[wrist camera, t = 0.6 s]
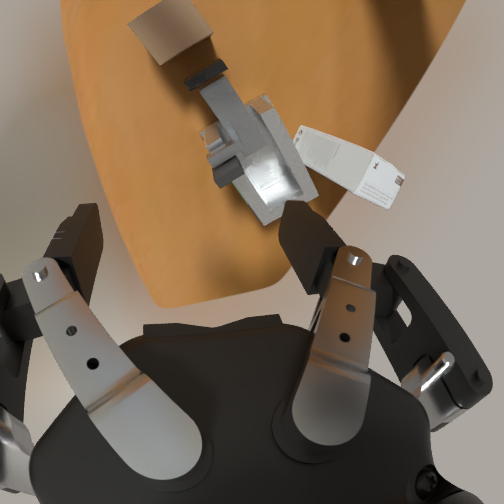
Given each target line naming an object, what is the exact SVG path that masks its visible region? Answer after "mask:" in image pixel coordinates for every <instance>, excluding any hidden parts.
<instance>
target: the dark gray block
mask: <svg viewBox="0 0 504 504" xmlns="http://www.w3.org/2000/svg"><path fill="white" fill-rule="evenodd" d="M212 171H213V177H214V181H215V183H216V184H217V185H218V187H219V188H222V187H224V186H225V185H227V184H229V183H230V182H232V181H233V180H235V179H237V178H239V177H240V176H242V175H244V174H245V173H244V170H243V168H242V165H241V163H240V161H239V159H238V158H237V156H236V155H234V156H233V157H231V158H230V159H228V160H226V161H225V162H223V163H221V164H220V165H218V166H217V167H215V168H212Z"/></svg>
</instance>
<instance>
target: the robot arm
mask: <svg viewBox="0 0 504 504" xmlns="http://www.w3.org/2000/svg"><path fill="white" fill-rule="evenodd" d="M278 236H279V242H280V245H281V247H282V248H283V250H284V252H285V254H286V256H287V258H288V259H289V261H290V263H291V265H292V267H293V269H294V270H295V272H296V274H297V276H298V278H299V280H300V282H301V283H302V285H303V287H304V289H305V291H306V292H307V295H312V294H319V295H320V298H319V300H318V302H317V305H316V308H315V311H314V314H313V317H312V320H311V323H310V326H309V328H308V330H306V329H304V328H301V327H298V326H294V325H289V324H283V323H282V321H281V318H280V316H279V314H274V315H265V316H256V317H247V318H244V319H241V320H238V321H235V322H232V323H229V324H225V325H222V326H219V327H214V328H210V327H203V326H195V325H188V324H180V323H168V324H146V325H143V335H142V336H138V337H135V338H133V339H130V340H128V341H126V342H125V343H123V344H121V345H120V346H118V345H117V344H116V343H115V341H114V340H113V339H112V337H111V336H110V335H109V334H108V332H107V331H106V330H105V328H104V327H103V326H102V324H101V323H100V322H99V321H98V319H97V318H96V316H95V315H94V314H93V312H92V311H91V309H90V308H89V303H90V298H91V294H92V290H93V285H94V281H95V277H96V273H97V269H98V265H99V262H100V258H101V254H102V251H103V234H102V229H101V222H100V216H99V210H98V205H97V204H96V203H89V204H79V206H78V207H77V209H76V211H75V213H74V214H73V216H72V217H68V218H67V219H66V220H64V221H63V222H62V223H61V224H60V226H59V227H58V229H57V231H56V233H55V235H54V237H53V239H52V240H51V242H50V244H49V246H48V248H47V250H46V252H45V254H44V256H43V258H40V259H37V260H35V261H33V262H32V263H30V264H29V265H28V266H27V267H26V269H25V270H24V272H23V275H22V278H21V279H18V280H15V281H12V282H8V283H6V282H5V280H4V278H3V276H2V274H0V489H1V490H4V491H7V492H11V493H19V492H23V493H26V494H30V495H34V496H36V497H37V499H38V501H39V502H40V504H484V503H483V502H482V501H481V500H480V499H479V498H478V497H477V496H475V495H474V494H472V493H470V492H467V491H465V490H462V489H460V488H458V487H456V486H455V485H453V484H451V483H450V482H448V481H447V480H445V479H444V478H443V477H442V476H441V475H440V474H439V473H438V471H437V470H436V468H435V465H434V462H433V457H432V451H431V442H430V432H435V431H438V430H439V429H441V428H442V427H444V426H445V425H447V424H448V423H450V422H452V421H453V420H454V419H456V418H457V417H459V416H460V415H461V414H463V413H464V412H466V411H467V410H468V409H470V408H471V407H473V406H474V405H475V404H476V403H478V402H479V401H480V400H481V399H483V398H484V397H485V396H487V395H488V394H489V393H490V392H491V390H492V386H493V382H492V377H491V374H490V372H489V370H488V368H487V366H486V365H485V363H484V361H483V360H482V358H481V356H480V355H479V353H478V352H477V350H476V348H475V347H474V345H473V344H472V342H471V341H470V339H469V337H468V336H467V334H466V333H465V331H464V330H463V328H462V327H461V326H460V324H459V323H458V321H457V320H456V318H455V317H454V315H453V314H452V313H451V311H450V310H449V309H448V307H447V306H446V304H445V303H444V302H443V300H442V299H441V298H440V296H439V295H438V294H437V293H436V291H435V290H434V289H433V287H432V286H431V285H430V283H429V282H428V281H427V280H426V279H425V277H424V276H423V275H422V273H421V272H420V271H419V270H418V269H417V268H416V266H415V265H414V264H413V263H412V262H411V261H410V260H408V259H407V258H405V257H402V256H399V255H392V256H390V257H389V259H388V261H387V263H386V265H384V264H379V263H373V262H372V259H371V258H370V256H369V255H368V254H367V253H366V252H364V251H363V250H361V249H359V248H357V247H354V246H347V245H346V244H345V243H344V242H343V240H342V239H341V238H340V237H339V236H338V234H337V233H336V232H335V231H333V228H332V227H331V226H330V225H329V224H328V223H327V221H326V220H325V219H324V218H323V217H322V216H320V215H319V214H317V213H316V212H314V211H313V210H312V209H311V208H310V207H309V206H308V204H307V203H306V202H305V201H303V200H287V201H286V202H285V205H284V209H283V214H282V218H281V223H280V227H279V234H278ZM402 300H403V301H404V303H405V304H406V306H407V307H408V308H409V310H410V312H411V315H412V320H411V324H410V325H409V326H408V327H407V326H406V324H405V323H404V321H403V320H402V318H401V316H400V315H399V313H398V312H397V310H396V309H397V308H398V306H399V304H400V303H401V301H402ZM373 331H374V333H375V335H376V336H377V338H378V340H379V342H380V344H381V346H382V348H383V349H384V351H385V353H386V355H387V357H388V359H389V361H390V363H391V365H392V367H393V368H394V371H395V372H396V374H397V376H398V379H399V381H400V383H401V387H400V386H398V385H396V384H395V383H393V382H391V381H390V380H388V379H386V378H385V377H383V376H381V375H380V374H378V373H376V372H375V371H373V370H372V369H370V368H368V364H369V357H370V350H371V343H372V334H373ZM40 336H44V338H45V340H46V342H47V344H48V346H49V348H50V350H51V352H52V354H53V356H54V358H55V360H56V362H57V364H58V366H59V367H60V369H61V371H62V372H63V374H64V376H65V378H66V380H67V381H68V383H69V385H70V386H71V388H72V389H73V391H74V393H75V396H74V397H73V398H72V399H71V401H70V402H69V403H68V404H67V405H66V407H65V408H64V409H63V410H62V412H61V413H60V414H59V415H58V417H57V418H56V419H55V420H54V422H53V423H52V424H51V425H50V427H49V428H48V429H47V430H46V432H45V433H44V434H43V436H42V437H41V438H40V439H39V441H38V442H37V443H36V445H35V447H34V444H33V443H32V441H31V436H30V433H29V430H28V429H27V427H26V426H25V425H24V424H23V418H24V401H25V389H26V381H27V373H28V366H29V360H30V353H31V347H32V343H33V339H34V338H37V337H40Z"/></svg>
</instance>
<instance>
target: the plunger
mask: <svg viewBox="0 0 504 504" xmlns="http://www.w3.org/2000/svg"><path fill="white" fill-rule="evenodd" d="M227 69H228V68H227V67H226V65H225V64H224V62H223V61H222V60H221V59H217V60H215V61H213V62H212V63H210V64H208V65H207V66H205V67H203V68H202V69H200V70H198V71H197V72H195V73H193V74H192V75H190V76H189V77H187V78H186V79H185V81H184V83H185V85H186V86H187V87H188V89H189V90H190V91H192V90H194V89H195V88H197V87H198V86H200V85H201V86H200V87H198V88H199V92H200V94H201V95H202V97H203V98H204V99H205V101H206V102H207V104H208V105H209V106H210V108H211V109H212V111H213V112H214V114H215V115H216V116H217V118H218V119H219V121H220V122H221V124H222V125H223V127H224V128H225V130H226V131H227V132H228V135H229V138H230V141H228V142H227V143H225V144H223V145H222V146H220V147H218V148H217V149H215V150H214V151H212V152H210V153H209V154H207V160H208V162H209V163H210V164H211V166H212V167H213V168H215V167H217V166H218V165H220V164H221V163H223V162H225V161H226V160H228V159H230V158H231V157H233V156H234V155H236V154H238V153H240V152H241V153H242V155H243V156H244V158H246V157H248V156H249V155H251V154H253V153H255V152H256V151H258V150H260V149H262V148H263V147H265V146H267V145H268V144H267V142H266V140H265V139H264V137H263V135H262V134H261V132H260V130H259V129H258V127H257V125H256V124H255V122H254V120H253V119H252V117H251V115H250V114H249V112H248V111H247V109H246V107H245V106H244V104H243V103H242V101H241V100H240V98H239V96H238V95H237V93H236V92H235V90H234V89H233V87H232V86H231V84H230V83H229V81H228V80H227V78H226V77H225V75H223V74H220V73H222V72H223V71H225V70H227ZM218 74H220V75H218ZM216 75H218V76H216ZM215 76H216V77H215ZM213 77H215V78H213ZM211 78H213V79H211ZM210 79H211V80H210ZM208 80H210V81H208ZM206 81H208V82H206ZM205 82H206V83H205ZM203 83H205V84H203ZM202 84H203V85H202Z"/></svg>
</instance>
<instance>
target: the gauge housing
mask: <svg viewBox="0 0 504 504" xmlns="http://www.w3.org/2000/svg"><path fill="white" fill-rule="evenodd" d="M244 106H245V107H246V109H247V111H248V112H249V114H250V115H251V117H252V119H253V120H254V122H255V124H256V125H257V127H258V129H259V130H260V132H261V134H262V135H263V137H264V139H265V140H266V142H267V144H268V145H267V146H265V147H263V148H262V149H260V150H258V151H256V152H255V153H253V154H251V155H249V156H248V157H246V158H244V156H243V155H242V153H241V152H240V153H238V154H236V156H237V158H238V159H239V161H240V163H241V165H242V168H243V170H244V173H245V174H244V175H242V176H240V177H239V178H237V179H235V180H233V181H232V184H233V185H234V186H235V188H236V189H237V190H238V192H239V193H240V195H241V196H242V197H243V199H244V200H245V202H246V203H247V204H248V206H249V207H250V209H251V210H252V211H253V213H254V214H255V216H256V217H257V218H258V220H259V221H261V222H262V224H263V225H264V226H265V225H267V224H269V223H270V222H272V221H274V220H276V219H278V218H279V217H281V216H282V214H283V209H284V205H285V202H286V201H287V200H303V201H305V202H308V201H310V200H312V199H314V198H316V197H317V196H319V194H318V192H317V190H316V188H315V186H314V184H313V181H312V179H311V177H310V175H309V173H308V171H307V169H306V167H305V165H304V163H303V161H302V159H301V157H300V155H299V153H298V151H297V149H296V147H295V145H294V143H293V141H292V139H291V137H290V135H289V134H288V132H287V130H286V128H285V126H284V124H283V122H282V121H281V119H280V117H279V115H278V113H277V112H276V110H275V108H274V107H273V105H272V104H271V102H270V100H269V98H268V97H267V95H266V94H262V95H260V96H258V97H256V98H254V99H253V100H251V101H249V102H247V103H245V104H244ZM200 135H201V136H202V137H203V139H204V143H205V147H206V148H207V149H208V151H209V152H212V151H214V150H215V149H217V148H218V147H220V146H222V145H223V144H225V143H227V142H228V141H230V138H229V135H228V132H227V131H226V130H225V128H224V127H223V125H222V124H221V122H220V121H219V119H218V120H216V121H215V122H213V123H212V124H210V125H208V126H207V127H205V128H204V129H202V130H201V131H200Z"/></svg>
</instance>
